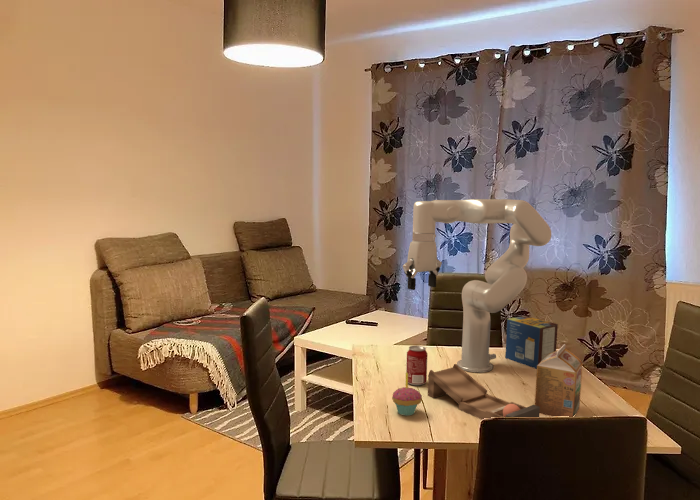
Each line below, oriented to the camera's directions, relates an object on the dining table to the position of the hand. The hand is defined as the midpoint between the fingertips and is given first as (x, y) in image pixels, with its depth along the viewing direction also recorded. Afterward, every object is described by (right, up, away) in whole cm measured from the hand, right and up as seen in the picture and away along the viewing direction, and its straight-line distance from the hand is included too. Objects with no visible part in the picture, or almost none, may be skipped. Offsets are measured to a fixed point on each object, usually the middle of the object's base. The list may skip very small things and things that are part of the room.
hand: (421, 287), depth 193 cm
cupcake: (-8, -34, -29) cm, 46 cm away
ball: (+19, -33, -33) cm, 50 cm away
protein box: (+43, -29, +20) cm, 56 cm away
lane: (+14, -34, -25) cm, 44 cm away
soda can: (-3, -31, -5) cm, 32 cm away
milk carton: (+37, -35, -26) cm, 57 cm away
